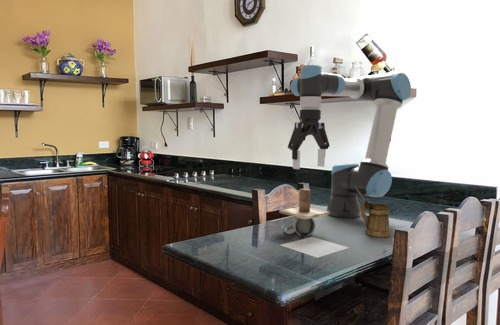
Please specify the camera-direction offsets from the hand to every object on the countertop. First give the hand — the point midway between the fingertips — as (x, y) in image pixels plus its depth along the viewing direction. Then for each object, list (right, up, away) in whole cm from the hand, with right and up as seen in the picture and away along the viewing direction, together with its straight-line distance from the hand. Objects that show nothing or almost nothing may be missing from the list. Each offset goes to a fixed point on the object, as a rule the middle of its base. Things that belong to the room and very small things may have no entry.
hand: (308, 167), depth 147 cm
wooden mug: (+24, -25, +3) cm, 35 cm away
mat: (0, -26, -15) cm, 30 cm away
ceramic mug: (-3, -25, +2) cm, 25 cm away
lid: (-2, -17, +1) cm, 17 cm away
